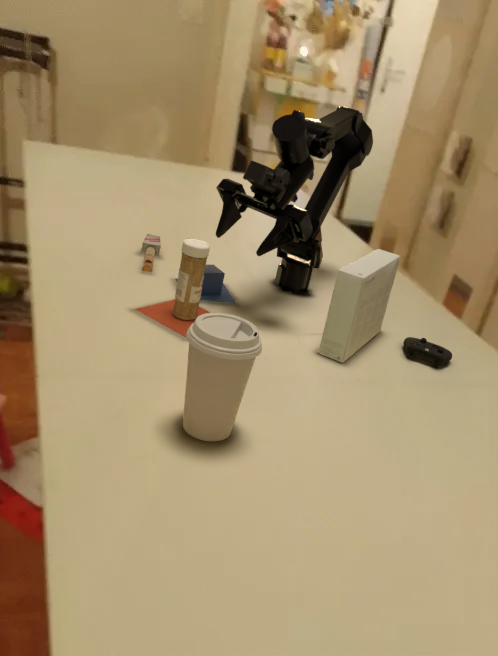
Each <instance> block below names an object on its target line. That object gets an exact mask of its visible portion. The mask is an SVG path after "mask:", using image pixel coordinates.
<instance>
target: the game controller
mask: <svg viewBox="0 0 498 656" xmlns="http://www.w3.org/2000/svg"><path fill="white" fill-rule="evenodd" d="M403 347H404V348H405V353H406V357H407V358H408V359H412V358H413V357H417V358H420V359H423V360H426V361H429V362H432V363H433V367H434V368H440V367H441V366H442V365H444V364H445V363H448V362H450V361H451V360H452V359H453V353H452V351H450V350H449V349H447V348H445V347H443V346H441V345H439V344H436V343H433V342H430V341H427V338H425V337H421V338H418V337H414V336H413V337H412V336H408V337H405V338H404V340H403Z"/></svg>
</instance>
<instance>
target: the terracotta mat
mask: <svg viewBox="0 0 498 656" xmlns="http://www.w3.org/2000/svg"><path fill="white" fill-rule="evenodd" d="M174 303H175V299H171V300H168V301H163V302H158V303H154V304H150V305H145V306H142V307H137V308H134V310H136V312H139V313H141V314H143V315H144V316H146V317H148V318H150V319H151V320H153V321H155V322H157V323H159V324H161V325H162V326H164V327H166V328H168V329H169V330H171V331H173V332H174V333H176V334H178V335H180V336H182V337H184V338H186V333H187V331H188V329H189V327H190V326H191V325H192V324H193V323H194V322H195V320H196V319H195V320H189V321H187V320H182V319H179V318H177V317H175V316H174V315H173V313H172V311H173V309H174ZM206 313H211V312H210V311H209V310H206V309H204V308H203V307H201V306H199V307H198V316H200V315H202V314H206Z"/></svg>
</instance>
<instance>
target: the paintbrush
mask: <svg viewBox="0 0 498 656" xmlns="http://www.w3.org/2000/svg"><path fill="white" fill-rule="evenodd" d="M161 247H162V245H161V236H159V235H155V234H149V233H147V234H146V236H145V237H144V239H143V241H142V244H141V250H140V254H144V259H143V264H142V271H143V272H147V273H152V272H153V267H154V260H155V257H160V251H161Z"/></svg>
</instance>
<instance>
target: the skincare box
mask: <svg viewBox="0 0 498 656" xmlns="http://www.w3.org/2000/svg"><path fill="white" fill-rule="evenodd" d="M401 257H402V256H401V255H400V254H396V253H393V252H390V251H386V250H384V249H380V248H377V249H375V250H373V251H371V252H369V253H367V254H365V255H363V256H361V257H360V258H358V259H356V260H354V261H352V262H350V263H348V264H346V265H344V266H342V267H341V268H339V269H337V272H336V273H337V274H336V277H335V281H334V285H333V290H332V294H331V299H330V303H329V307H328V312H327V316H326V320H325V324H324V329H323V332H322V336H321V341H320V345H319V349H318V352H317V353H318V354H319V355H321V356H324V357H327V358H329V359H330V360H331V359H332V360H334V361H337V362H339V363H342V364H343V363H344V362H346V361H347V360H348V359H349V358H350V357H352V356H353V355H354V354H355V353H356V352H357V351H359V350H360V349H361V348H363V347H364V345H367V343H369V341H371V340H372V339H373V338H374V337H375V336H376V335H378V334H379V333H380V332H381V329H382V326H383V323H384V318H385V315H386V311H387V308H388V303H389V300H390V297H391V293H392V289H393V286H394V282H395V279H396V276H397V275H396V274H397V272H398V267H399V265H400V261H401Z"/></svg>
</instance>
